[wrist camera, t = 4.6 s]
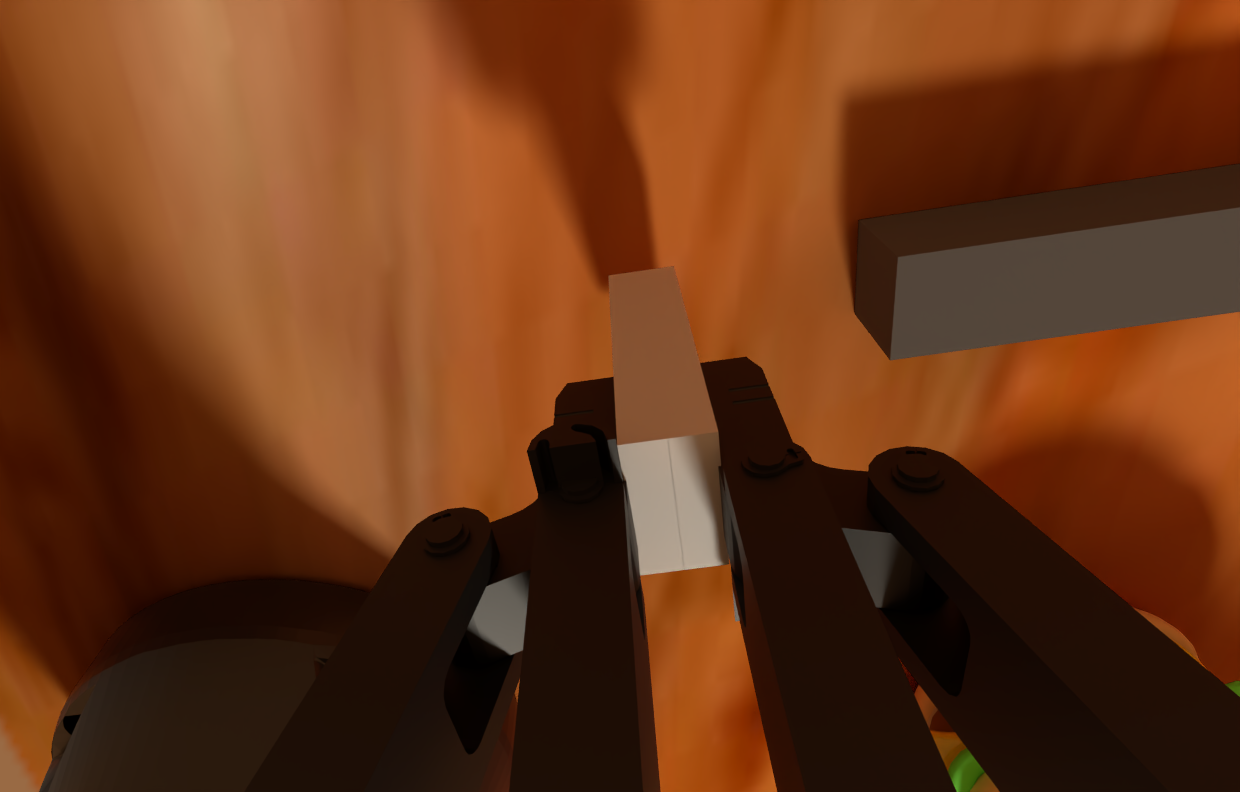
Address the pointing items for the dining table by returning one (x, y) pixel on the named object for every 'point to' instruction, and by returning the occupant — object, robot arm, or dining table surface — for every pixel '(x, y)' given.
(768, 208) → the dining table surface
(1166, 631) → the hamburger
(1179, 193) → the beige and grey hammer
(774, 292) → the dining table surface
